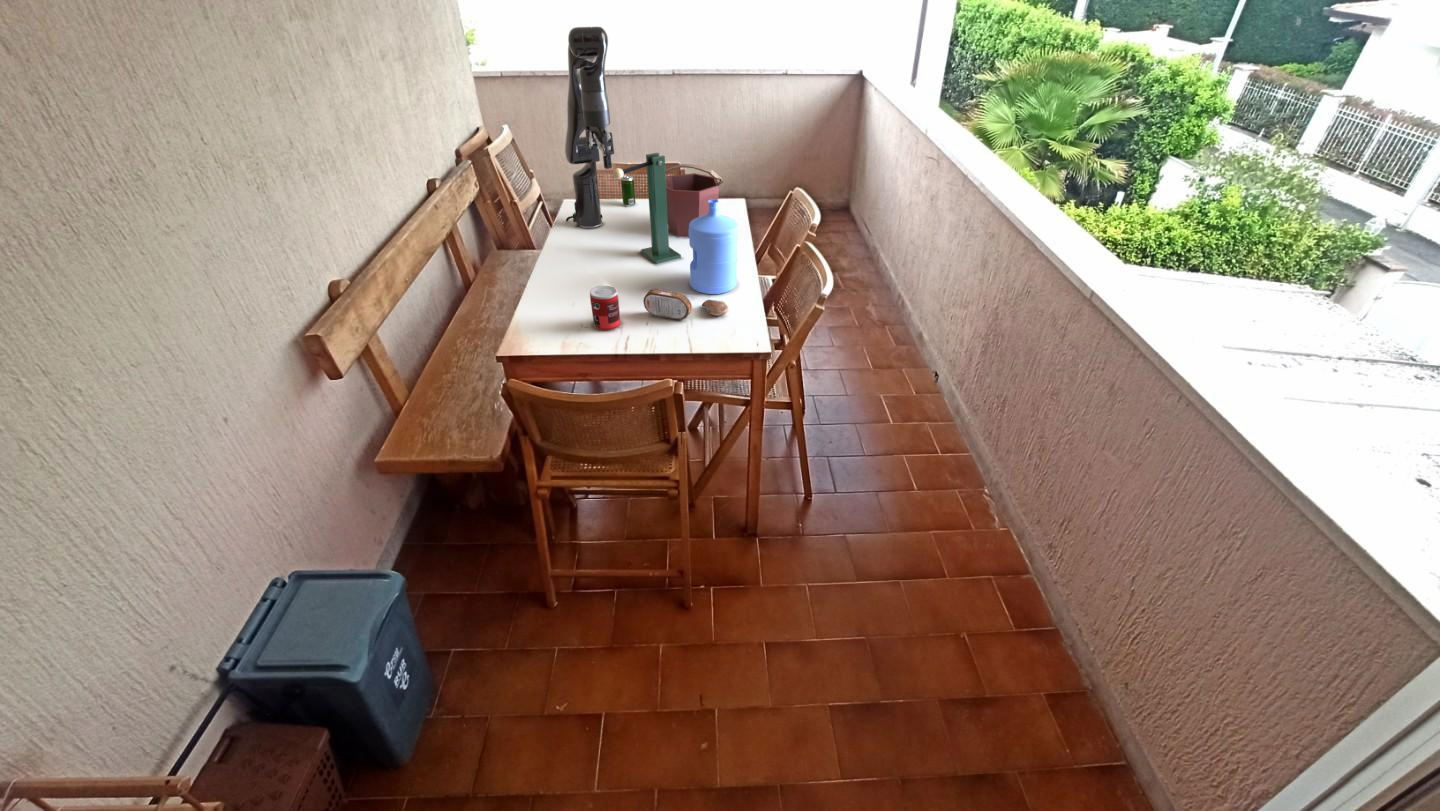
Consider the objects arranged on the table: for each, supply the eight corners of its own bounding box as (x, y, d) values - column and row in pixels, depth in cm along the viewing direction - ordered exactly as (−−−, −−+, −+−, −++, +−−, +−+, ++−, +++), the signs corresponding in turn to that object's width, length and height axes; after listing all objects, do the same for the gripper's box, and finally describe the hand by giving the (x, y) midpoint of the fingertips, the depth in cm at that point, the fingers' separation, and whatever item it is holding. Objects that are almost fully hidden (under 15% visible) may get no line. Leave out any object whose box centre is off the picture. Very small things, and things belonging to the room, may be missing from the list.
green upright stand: (656, 264, 227) (650, 162, 206) (640, 253, 235) (633, 153, 214) (681, 258, 231) (677, 157, 210) (664, 247, 239) (659, 148, 218)
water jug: (744, 279, 217) (746, 197, 200) (724, 299, 206) (725, 213, 189) (702, 271, 222) (701, 190, 206) (681, 289, 211) (678, 205, 194)
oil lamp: (726, 307, 203) (701, 308, 202) (726, 295, 201) (701, 296, 200) (729, 317, 195) (703, 318, 194) (729, 305, 193) (702, 306, 192)
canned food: (594, 319, 195) (590, 285, 188) (621, 318, 195) (618, 284, 189) (592, 331, 188) (588, 297, 182) (620, 330, 189) (616, 296, 182)
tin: (692, 318, 195) (691, 293, 190) (688, 323, 193) (688, 298, 188) (647, 310, 199) (645, 285, 194) (642, 315, 197) (641, 290, 192)
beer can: (638, 205, 276) (636, 176, 269) (627, 207, 274) (625, 179, 267) (631, 201, 280) (629, 173, 273) (620, 204, 277) (618, 176, 270)
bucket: (732, 228, 255) (733, 163, 240) (701, 246, 240) (700, 178, 225) (681, 216, 266) (679, 153, 251) (649, 233, 251) (644, 167, 236)
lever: (617, 181, 207) (614, 171, 205) (612, 178, 210) (610, 168, 207) (662, 166, 213) (660, 155, 211) (657, 163, 216) (655, 153, 214)
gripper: (618, 110, 181) (623, 168, 191) (597, 100, 191) (603, 157, 200) (594, 113, 178) (600, 173, 188) (573, 104, 187) (581, 161, 197)
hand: (602, 164), depth 194 cm, fingers open, 8 cm apart
